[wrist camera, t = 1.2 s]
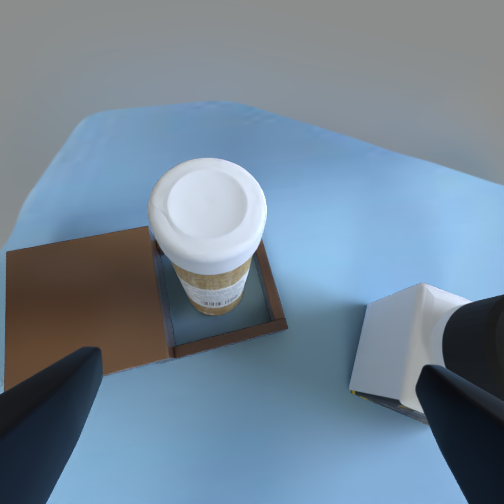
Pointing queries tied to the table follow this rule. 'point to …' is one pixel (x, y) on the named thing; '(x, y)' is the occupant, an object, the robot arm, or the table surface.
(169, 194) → the sprinkles bottle
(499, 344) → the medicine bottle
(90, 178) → the table surface
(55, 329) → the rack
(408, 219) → the table surface
